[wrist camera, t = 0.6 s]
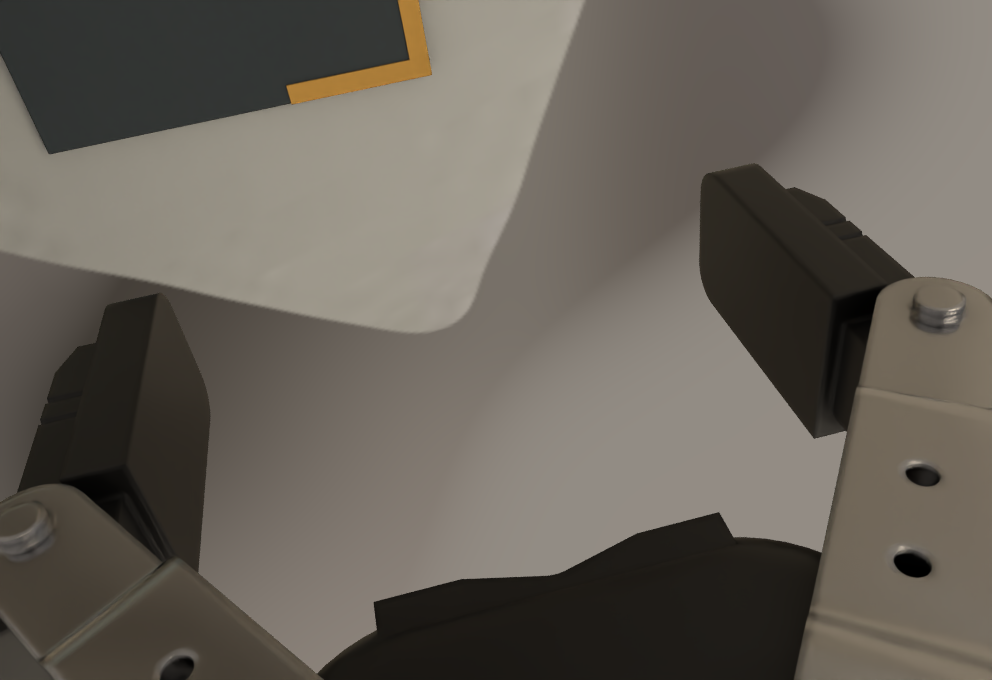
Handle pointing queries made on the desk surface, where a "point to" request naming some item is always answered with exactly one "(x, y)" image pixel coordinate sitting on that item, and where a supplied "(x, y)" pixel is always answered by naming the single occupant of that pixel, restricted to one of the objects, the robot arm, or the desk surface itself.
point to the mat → (196, 59)
